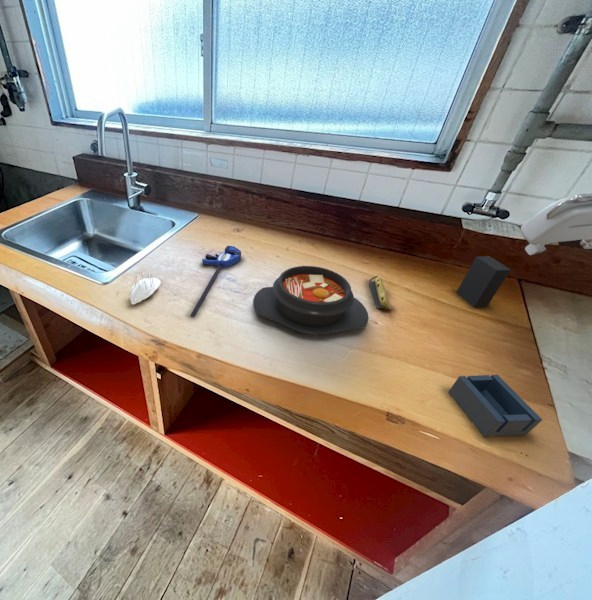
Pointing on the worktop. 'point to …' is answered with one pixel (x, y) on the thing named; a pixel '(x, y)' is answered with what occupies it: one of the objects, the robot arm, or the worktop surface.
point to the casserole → (311, 302)
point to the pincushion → (143, 289)
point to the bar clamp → (219, 267)
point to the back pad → (482, 281)
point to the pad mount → (493, 406)
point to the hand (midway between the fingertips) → (558, 248)
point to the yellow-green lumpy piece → (379, 293)
